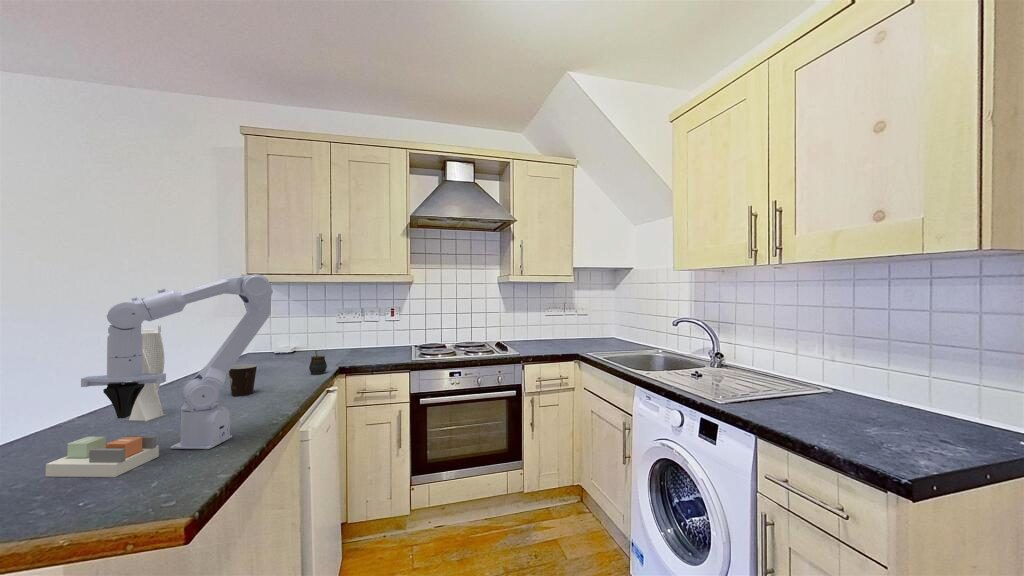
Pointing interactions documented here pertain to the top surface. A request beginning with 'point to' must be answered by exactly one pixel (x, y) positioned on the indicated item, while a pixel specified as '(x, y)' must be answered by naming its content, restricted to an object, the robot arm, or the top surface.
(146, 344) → the skyscraper
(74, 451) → the on button
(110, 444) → the button
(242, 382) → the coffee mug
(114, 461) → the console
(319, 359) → the mate gourd
